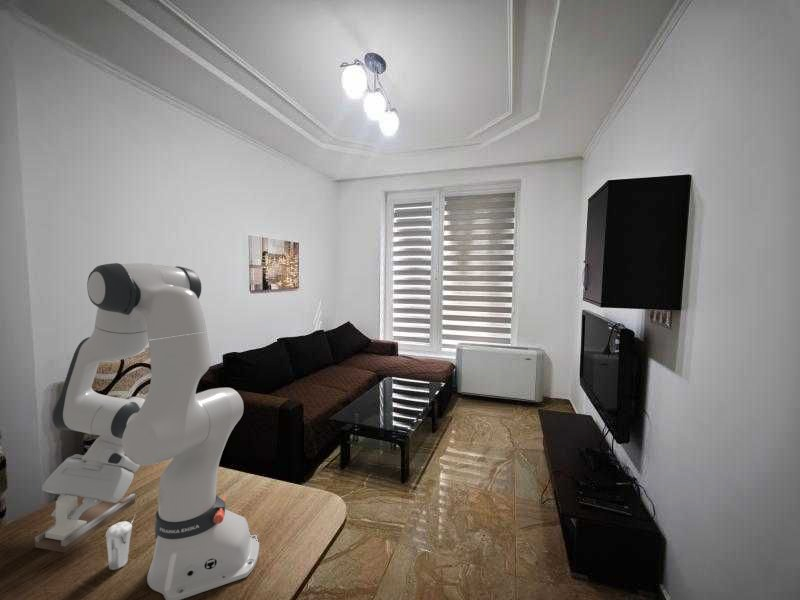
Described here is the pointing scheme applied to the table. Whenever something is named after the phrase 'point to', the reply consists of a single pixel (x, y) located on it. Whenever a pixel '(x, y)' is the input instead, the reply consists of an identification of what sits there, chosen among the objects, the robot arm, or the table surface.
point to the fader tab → (65, 519)
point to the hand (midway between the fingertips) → (63, 518)
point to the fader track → (95, 519)
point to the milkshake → (118, 544)
